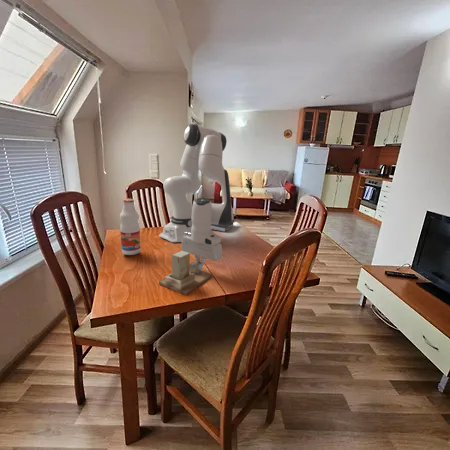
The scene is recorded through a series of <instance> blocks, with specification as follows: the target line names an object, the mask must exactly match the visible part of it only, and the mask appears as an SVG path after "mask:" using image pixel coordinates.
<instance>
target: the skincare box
mask: <svg viewBox="0 0 450 450" xmlns="http://www.w3.org/2000/svg"><path fill="white" fill-rule="evenodd" d="M171 257H172V258H171V260H172V261H171V263H172V265H171V273H172V278H174V279H177V280H179V281H181V280H182V279H184V278H186V277H187V276H189V267H190V262H191V260H190V259H191V258H190V257H191V255H190V253H188V252H185V251H182V250H180V251H178V252H176V253H172V255H171Z"/></svg>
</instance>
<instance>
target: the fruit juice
mask: <svg viewBox="0 0 450 450" xmlns="http://www.w3.org/2000/svg"><path fill="white" fill-rule="evenodd" d="M122 200H123V201H122V202H123V206H122V210H121V212H120V214H119V220H120V226H119V227H120V228H119V232H120V233H119V234H120V244H121V245H120V246H121V253H122V254H123V255H127V256H132V255H133V256H134V255H137V254H139V253H140V252H141V250H142V249H141V248H142V247H141V229H140V228H141V227H140V223H139V220H140V219H139V218H140V214H139V213H138V212H137V210H136V208H135V205H134V202H135V201H134V199H133V198H124V199H122Z"/></svg>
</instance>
